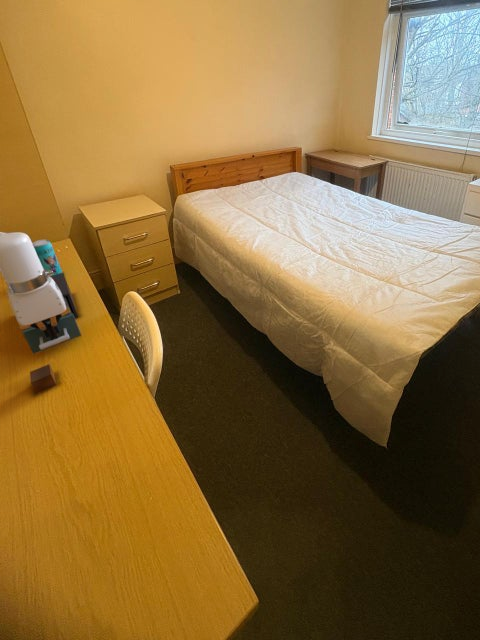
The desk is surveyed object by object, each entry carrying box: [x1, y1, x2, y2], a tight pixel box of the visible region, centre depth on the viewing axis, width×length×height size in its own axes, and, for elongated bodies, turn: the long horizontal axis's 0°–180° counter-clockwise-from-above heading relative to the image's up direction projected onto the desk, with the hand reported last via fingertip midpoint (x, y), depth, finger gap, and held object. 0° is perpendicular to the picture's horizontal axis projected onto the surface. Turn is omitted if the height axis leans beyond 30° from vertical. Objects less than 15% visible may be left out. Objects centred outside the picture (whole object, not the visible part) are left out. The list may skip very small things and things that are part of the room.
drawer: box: [22, 297, 82, 355], centre depth 93 cm, size 18×11×8 cm, turn 39°
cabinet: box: [50, 272, 79, 319], centre depth 102 cm, size 15×13×10 cm
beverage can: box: [32, 238, 63, 277], centre depth 119 cm, size 6×6×15 cm
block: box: [29, 363, 57, 394], centre depth 80 cm, size 4×4×4 cm
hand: (54, 336), depth 88 cm, fingers closed
